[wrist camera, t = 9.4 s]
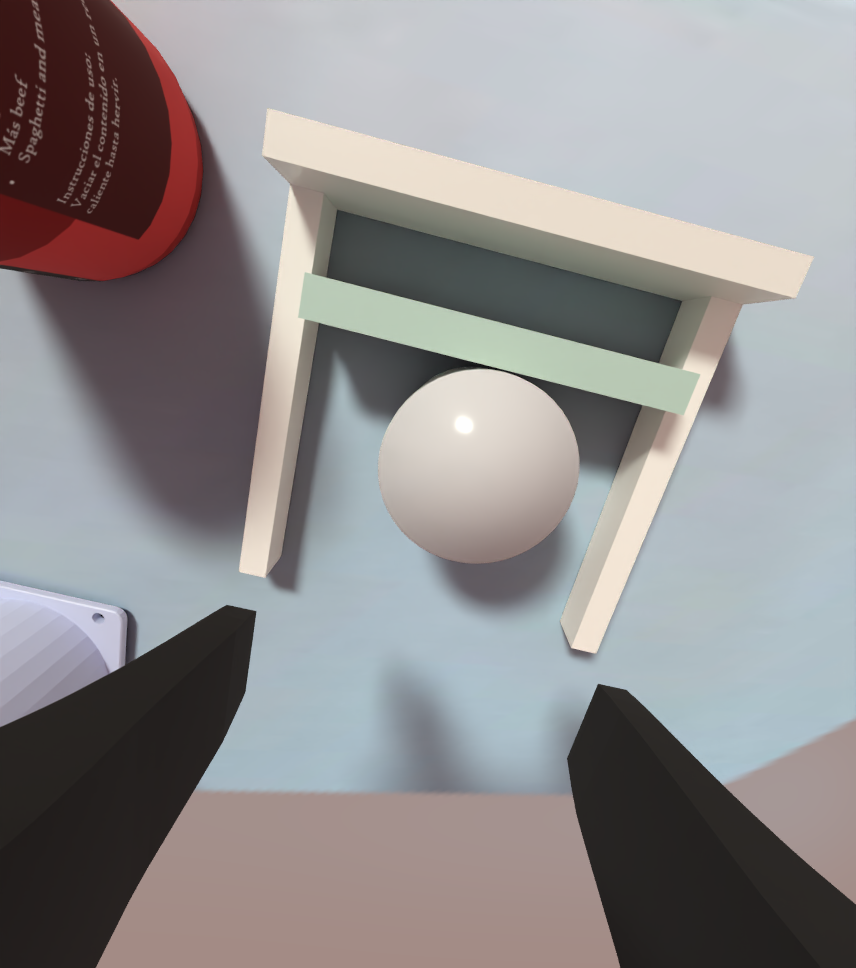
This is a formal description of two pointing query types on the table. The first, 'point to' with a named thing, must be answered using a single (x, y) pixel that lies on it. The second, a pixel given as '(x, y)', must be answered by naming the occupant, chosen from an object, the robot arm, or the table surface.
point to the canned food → (90, 143)
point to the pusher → (495, 344)
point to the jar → (478, 465)
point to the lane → (520, 233)
